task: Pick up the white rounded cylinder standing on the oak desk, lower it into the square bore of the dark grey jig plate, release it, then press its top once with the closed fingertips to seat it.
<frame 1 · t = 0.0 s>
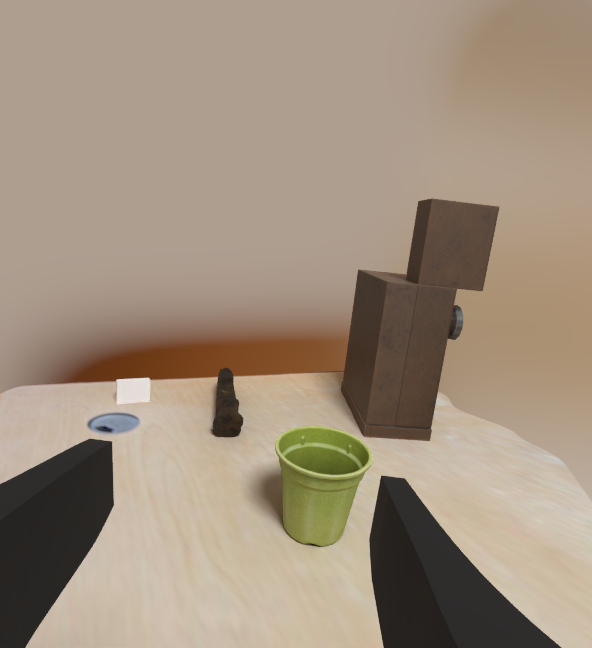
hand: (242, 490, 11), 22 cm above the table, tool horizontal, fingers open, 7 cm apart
dark brown ridged bar: (221, 412, 68), on the table
plant pot: (313, 528, 43), on the table
eraser: (132, 402, 67), on the table
stacked wooden boxes: (385, 415, 73), on the table
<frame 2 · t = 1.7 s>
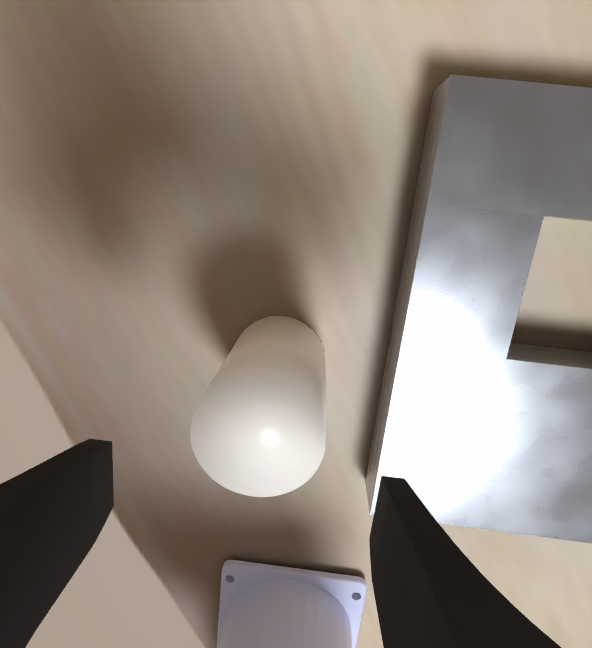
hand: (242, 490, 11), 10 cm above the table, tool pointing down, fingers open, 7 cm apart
jig: (563, 286, 19), on the table
white rounded cylinder: (279, 360, 20), on the table
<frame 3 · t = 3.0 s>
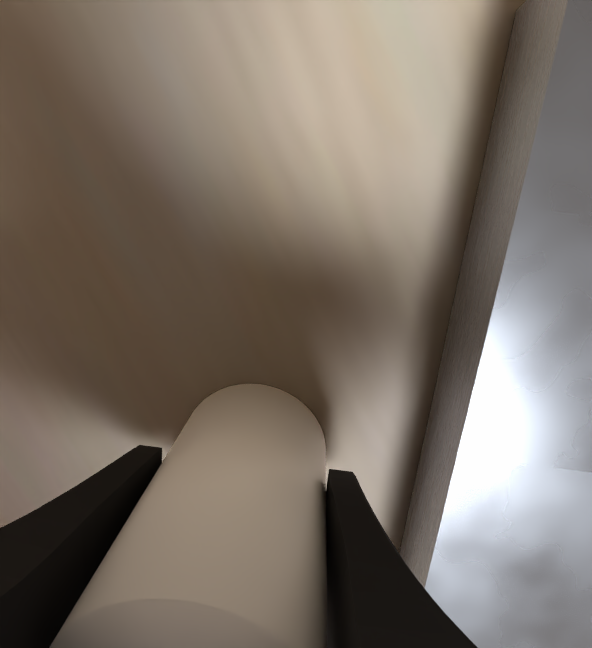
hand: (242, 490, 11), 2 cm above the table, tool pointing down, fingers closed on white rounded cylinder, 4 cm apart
white rounded cylinder: (254, 449, 13), on the table, touching gripper
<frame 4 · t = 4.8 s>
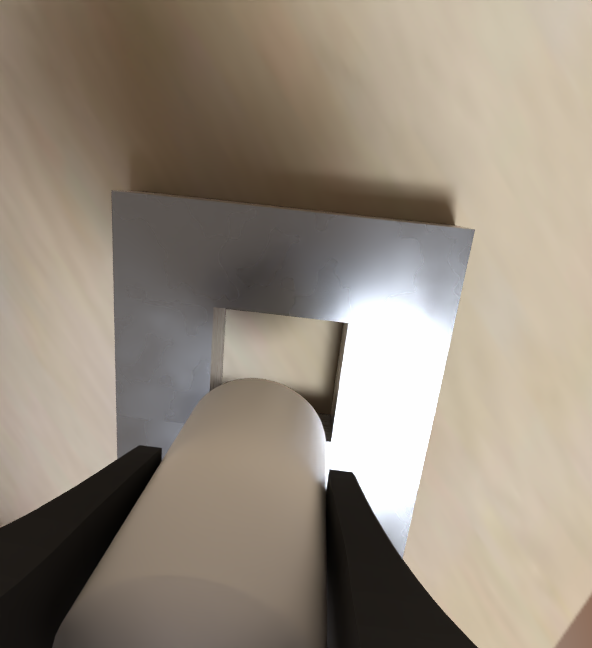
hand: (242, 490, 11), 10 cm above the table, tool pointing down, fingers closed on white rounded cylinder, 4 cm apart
jig: (280, 356, 21), on the table
white rounded cylinder: (255, 442, 13), point 8 cm above the table, touching gripper
when the fingers open (3 cm above the table, at t = 6.5 s): white rounded cylinder drops 1 cm, resting in jig.
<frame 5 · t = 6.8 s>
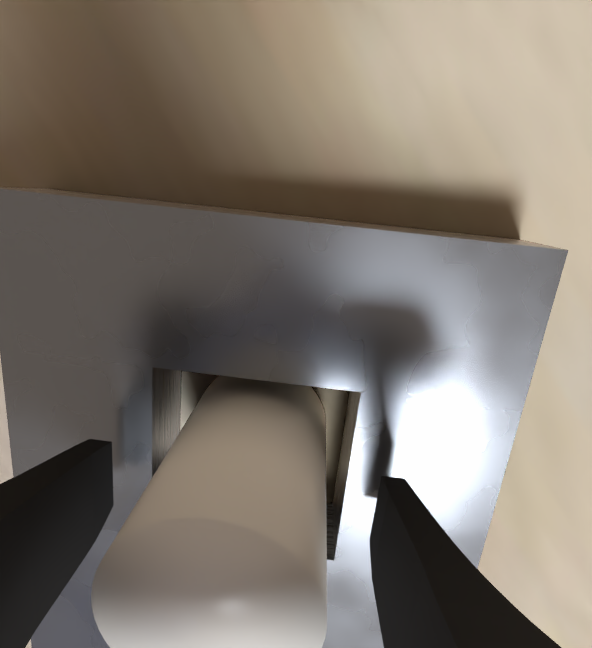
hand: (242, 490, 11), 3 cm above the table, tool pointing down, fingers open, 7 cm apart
jig: (261, 424, 15), on the table
white rounded cylinder: (261, 423, 15), resting in jig
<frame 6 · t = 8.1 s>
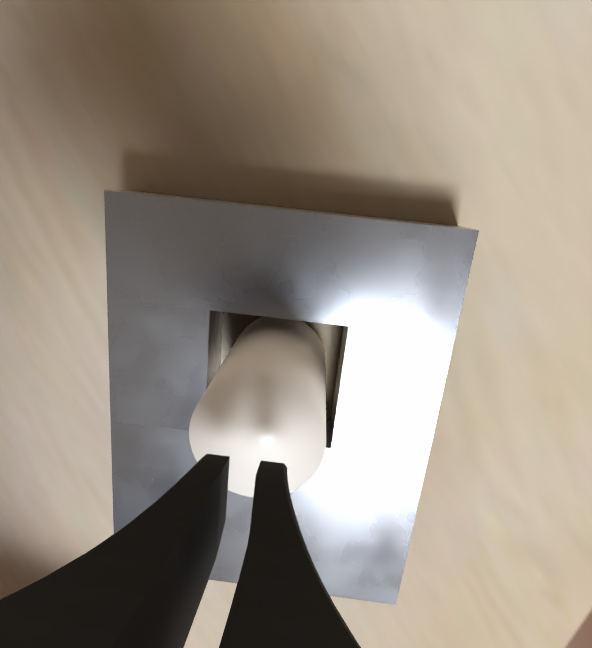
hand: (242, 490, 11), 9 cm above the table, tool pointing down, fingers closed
jig: (278, 360, 20), on the table
white rounded cylinder: (279, 359, 20), resting in jig
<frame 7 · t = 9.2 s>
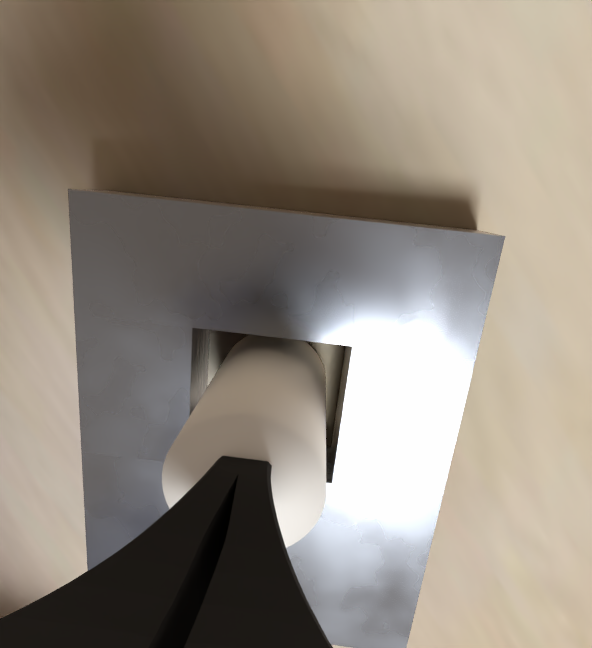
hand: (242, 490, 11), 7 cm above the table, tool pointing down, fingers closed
jig: (273, 380, 18), on the table
white rounded cylinder: (273, 380, 18), resting in jig
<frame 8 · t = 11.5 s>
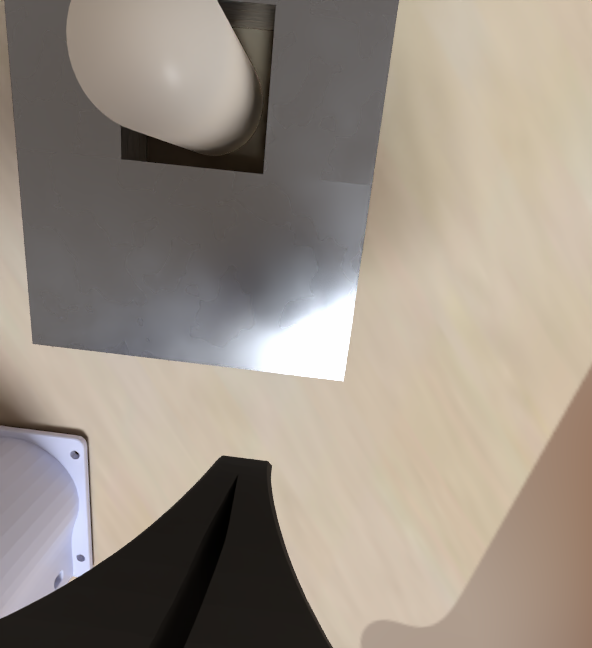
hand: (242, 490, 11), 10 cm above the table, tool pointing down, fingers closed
jig: (211, 100, 18), on the table
white rounded cylinder: (211, 100, 18), resting in jig
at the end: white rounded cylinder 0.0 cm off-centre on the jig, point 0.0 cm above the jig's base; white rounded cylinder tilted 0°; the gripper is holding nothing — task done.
